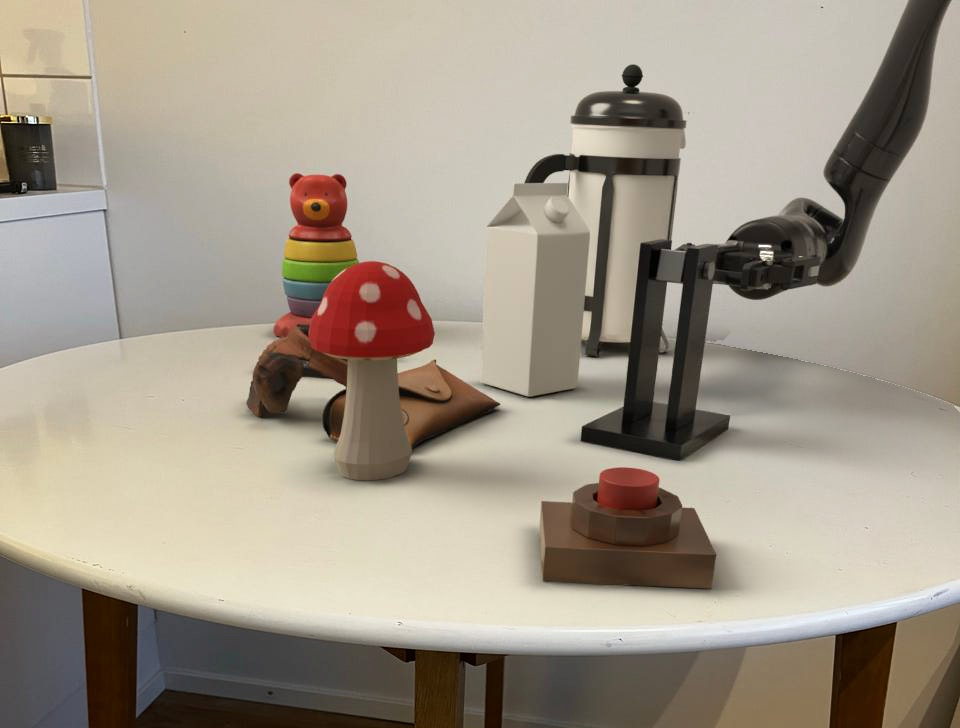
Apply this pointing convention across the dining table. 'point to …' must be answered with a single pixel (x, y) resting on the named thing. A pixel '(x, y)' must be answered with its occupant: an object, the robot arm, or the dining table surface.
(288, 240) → the stacking bear
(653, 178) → the coffee press
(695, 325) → the lever stand
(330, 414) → the sunglasses case
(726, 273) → the stand lever
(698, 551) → the button block
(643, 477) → the red button
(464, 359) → the dining table surface
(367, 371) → the decorative mushroom
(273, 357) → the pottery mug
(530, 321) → the milk carton
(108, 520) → the dining table surface
